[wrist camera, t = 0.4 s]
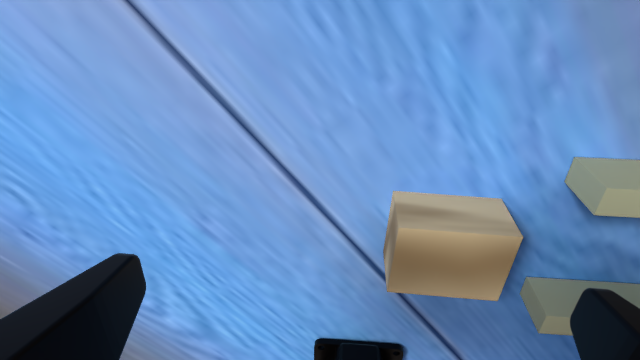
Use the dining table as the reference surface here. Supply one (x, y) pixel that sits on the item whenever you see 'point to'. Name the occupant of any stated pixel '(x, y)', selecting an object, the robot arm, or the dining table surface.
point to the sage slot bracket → (601, 199)
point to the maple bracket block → (449, 245)
